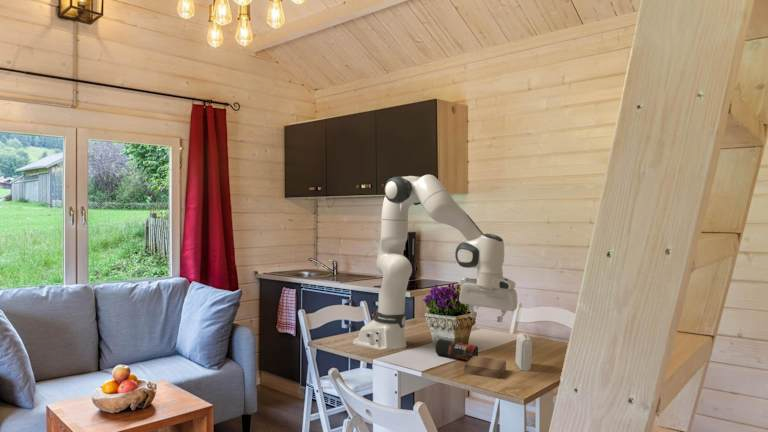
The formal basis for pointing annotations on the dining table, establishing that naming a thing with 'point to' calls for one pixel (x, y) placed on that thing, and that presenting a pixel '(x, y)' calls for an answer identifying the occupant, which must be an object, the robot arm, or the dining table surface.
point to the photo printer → (523, 352)
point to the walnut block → (485, 367)
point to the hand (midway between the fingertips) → (486, 319)
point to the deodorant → (456, 349)
